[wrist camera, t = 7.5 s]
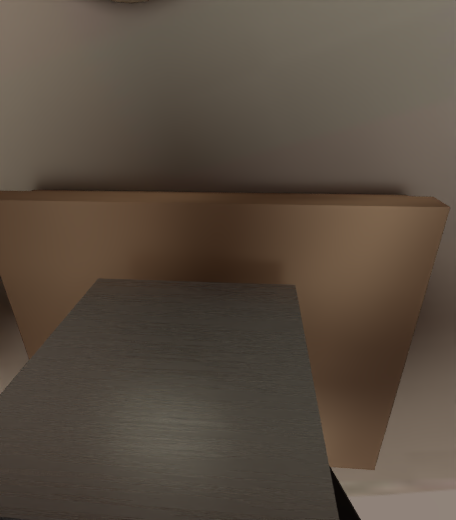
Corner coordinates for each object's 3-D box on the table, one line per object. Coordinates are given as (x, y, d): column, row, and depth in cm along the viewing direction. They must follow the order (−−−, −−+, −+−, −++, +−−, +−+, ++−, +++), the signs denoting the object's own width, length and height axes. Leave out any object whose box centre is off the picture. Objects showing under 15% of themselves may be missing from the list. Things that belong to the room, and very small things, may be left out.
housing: (277, 475, 11) (293, 771, 6) (136, 465, 11) (47, 738, 7) (295, 284, 8) (351, 588, 3) (98, 278, 8) (-125, 542, 3)
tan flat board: (408, 181, 10) (450, 207, 8) (356, 412, 15) (374, 469, 13) (30, 178, 11) (-26, 199, 9) (87, 397, 16) (59, 447, 14)
